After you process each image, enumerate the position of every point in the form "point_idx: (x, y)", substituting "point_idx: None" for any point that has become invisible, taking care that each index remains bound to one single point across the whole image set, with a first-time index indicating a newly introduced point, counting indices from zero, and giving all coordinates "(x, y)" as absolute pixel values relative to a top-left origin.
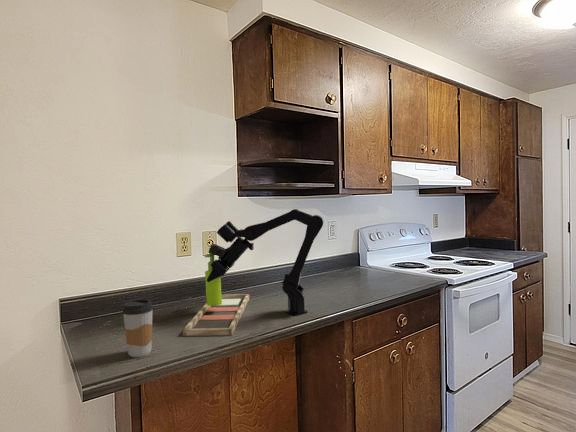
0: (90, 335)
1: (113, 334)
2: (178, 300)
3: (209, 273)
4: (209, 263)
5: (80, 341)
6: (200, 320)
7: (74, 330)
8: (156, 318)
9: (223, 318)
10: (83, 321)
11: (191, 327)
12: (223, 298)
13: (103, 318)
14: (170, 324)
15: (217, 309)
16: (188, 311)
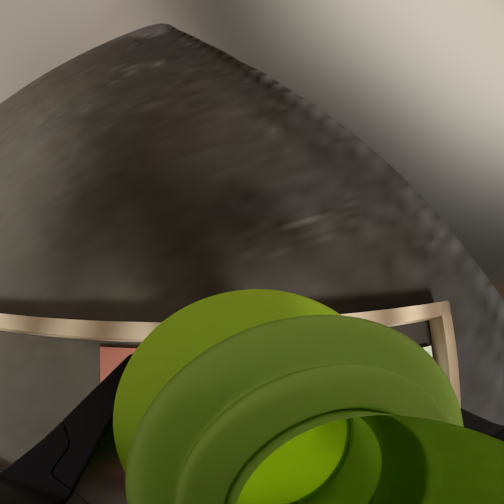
0: (62, 81)
1: (46, 116)
2: (388, 166)
3: (120, 402)
4: (141, 425)
5: (35, 87)
6: (101, 347)
7: (109, 46)
8: (156, 154)
9: None
10: (169, 33)
11: (6, 330)
12: (437, 355)
13: (185, 48)
14: (74, 229)
15: None
16: (244, 247)
